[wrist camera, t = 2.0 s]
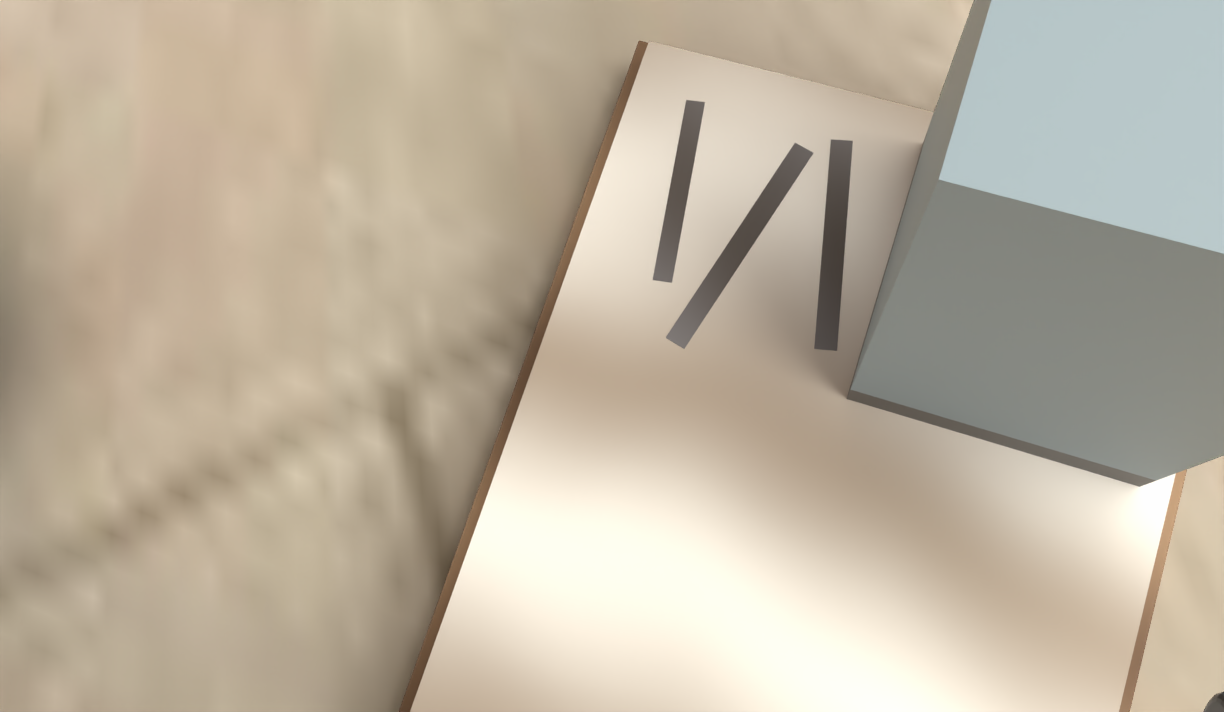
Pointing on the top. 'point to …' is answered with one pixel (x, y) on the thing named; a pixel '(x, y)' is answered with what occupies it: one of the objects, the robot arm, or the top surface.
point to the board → (767, 455)
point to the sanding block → (1066, 241)
